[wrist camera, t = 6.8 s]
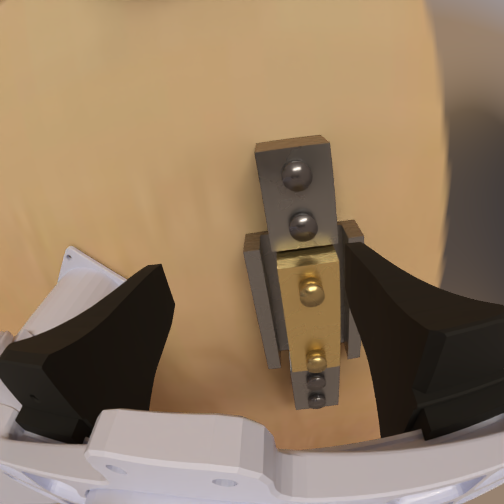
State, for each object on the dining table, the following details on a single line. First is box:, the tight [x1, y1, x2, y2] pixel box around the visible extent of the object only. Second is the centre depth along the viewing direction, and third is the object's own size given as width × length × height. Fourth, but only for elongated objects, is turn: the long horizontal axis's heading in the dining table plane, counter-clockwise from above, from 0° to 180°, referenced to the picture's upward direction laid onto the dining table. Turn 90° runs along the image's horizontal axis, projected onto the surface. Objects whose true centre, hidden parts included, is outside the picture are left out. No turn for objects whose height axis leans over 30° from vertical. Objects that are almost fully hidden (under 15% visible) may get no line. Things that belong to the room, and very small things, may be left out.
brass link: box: [276, 244, 340, 373], centre depth 21 cm, size 9×4×5 cm, turn 10°
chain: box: [243, 135, 364, 410], centre depth 22 cm, size 23×8×4 cm, turn 10°
